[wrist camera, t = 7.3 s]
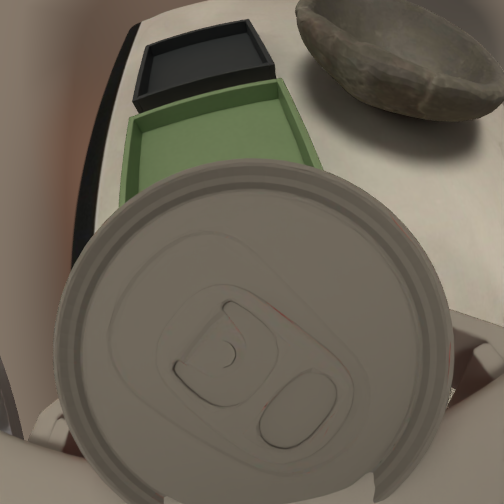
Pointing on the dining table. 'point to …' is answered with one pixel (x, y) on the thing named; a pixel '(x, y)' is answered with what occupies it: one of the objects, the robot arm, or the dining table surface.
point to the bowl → (402, 58)
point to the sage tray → (214, 133)
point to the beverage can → (252, 340)
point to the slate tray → (201, 64)
